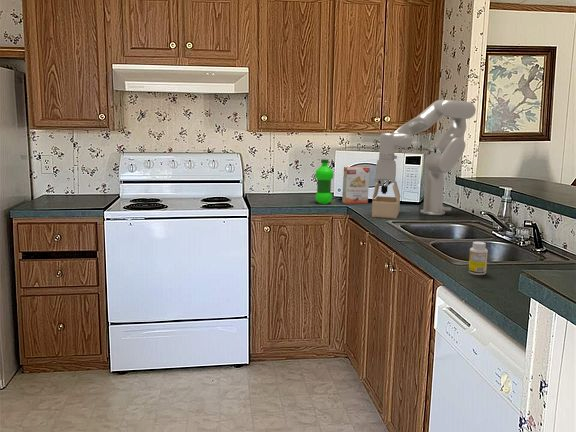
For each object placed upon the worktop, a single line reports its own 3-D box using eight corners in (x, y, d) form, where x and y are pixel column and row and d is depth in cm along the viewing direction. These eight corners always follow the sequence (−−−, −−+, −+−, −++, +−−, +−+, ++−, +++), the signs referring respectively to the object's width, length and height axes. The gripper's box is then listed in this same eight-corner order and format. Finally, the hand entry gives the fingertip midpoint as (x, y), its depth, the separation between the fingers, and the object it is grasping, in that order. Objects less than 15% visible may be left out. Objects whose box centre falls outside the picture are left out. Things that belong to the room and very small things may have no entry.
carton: (399, 212, 309) (400, 197, 308) (395, 219, 289) (396, 202, 288) (376, 210, 312) (377, 196, 311) (371, 217, 292) (372, 201, 291)
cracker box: (345, 204, 333) (346, 167, 330) (341, 202, 339) (343, 166, 336) (368, 203, 337) (370, 167, 334) (364, 202, 343) (365, 166, 339)
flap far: (373, 199, 292) (372, 199, 292) (377, 195, 309) (376, 194, 309) (376, 184, 290) (375, 184, 290) (380, 180, 308) (379, 180, 308)
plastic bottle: (311, 202, 338) (313, 158, 334) (329, 201, 341) (330, 158, 337) (317, 204, 329) (318, 160, 324) (335, 204, 332) (336, 160, 327)
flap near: (399, 196, 306) (400, 196, 306) (396, 201, 289) (397, 201, 289) (395, 181, 306) (396, 181, 306) (392, 185, 288) (393, 185, 288)
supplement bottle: (474, 270, 195) (476, 240, 194) (489, 273, 191) (491, 243, 189) (464, 272, 192) (467, 242, 190) (479, 276, 188) (482, 245, 186)
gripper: (402, 158, 297) (399, 193, 300) (372, 156, 301) (370, 191, 304) (400, 158, 290) (398, 195, 293) (370, 157, 294) (368, 193, 297)
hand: (384, 193), depth 299 cm, fingers closed
